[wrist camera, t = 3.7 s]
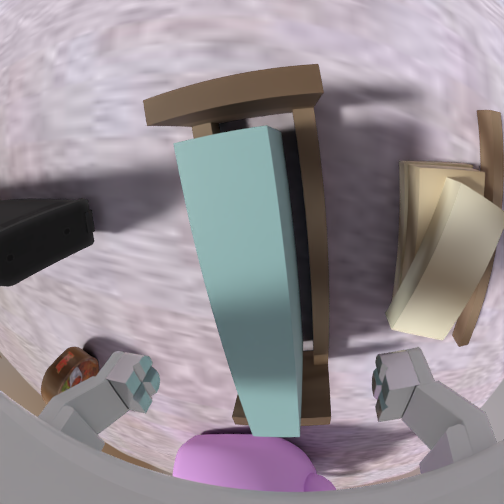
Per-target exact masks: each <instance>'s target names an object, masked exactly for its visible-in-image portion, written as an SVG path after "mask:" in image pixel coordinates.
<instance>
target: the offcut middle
mask: <svg viewBox="0 0 504 504" xmlns="http://www.w3.org/2000/svg"><path fill="white" fill-rule="evenodd" d="M446 177H447V178H450V179H453V180H455V181H458V182H460V183H462V184H464V185H466V186H467V187H469V188H471V189H472V190H474V191H475V192H477V193H478V194H480V195H482V196H483V197H484V186H485V172H482V171H479V170H476V169H473V168H466V167H454V166H440V165H421V164H408V213H407V230H406V242H405V252H404V261H403V269H402V276H401V283H400V286H401V284H402V282H403V280H404V278H405V276H406V274H407V272H408V270H409V268H410V266H411V264H412V262H413V260H414V258H415V256H416V254H417V251H418V249H419V247H420V245H421V243H422V240H423V238H424V236H425V233H426V231H427V229H428V226H429V224H430V221H431V219H432V216H433V214H434V211H435V208H436V206H437V203H438V200H439V198H440V195H441V192H442V189H443V186H444V183H445V180H446Z"/></svg>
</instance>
